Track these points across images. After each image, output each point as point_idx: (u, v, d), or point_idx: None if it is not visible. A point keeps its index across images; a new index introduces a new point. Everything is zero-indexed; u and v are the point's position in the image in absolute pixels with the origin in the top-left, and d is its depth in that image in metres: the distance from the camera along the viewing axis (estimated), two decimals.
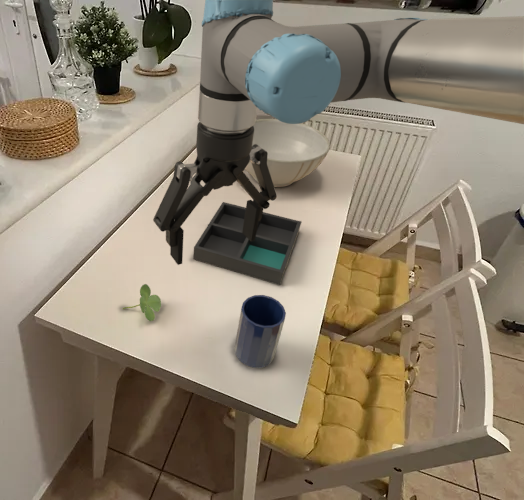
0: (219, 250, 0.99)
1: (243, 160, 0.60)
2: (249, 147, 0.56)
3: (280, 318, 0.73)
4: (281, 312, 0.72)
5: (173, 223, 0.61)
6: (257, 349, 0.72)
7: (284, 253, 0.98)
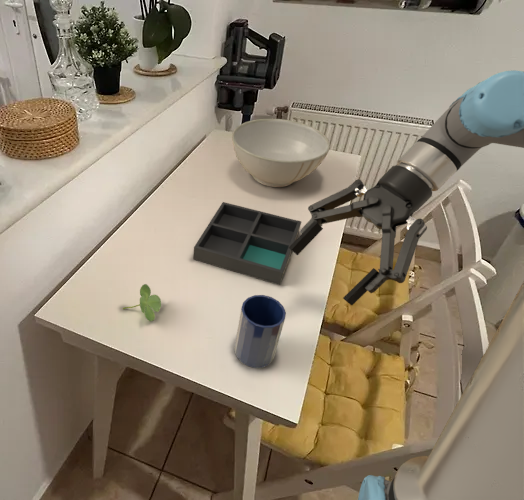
0: (219, 250, 0.99)
1: (400, 211, 0.67)
2: (407, 186, 0.65)
3: (280, 318, 0.73)
4: (281, 312, 0.72)
5: None
6: (257, 349, 0.72)
7: (284, 253, 0.98)
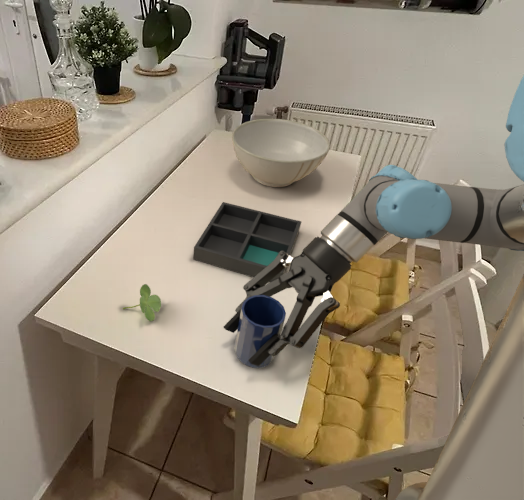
0: (219, 250, 0.99)
1: (321, 282, 0.68)
2: (325, 260, 0.67)
3: (280, 318, 0.73)
4: (281, 312, 0.72)
5: None
6: (257, 349, 0.72)
7: None
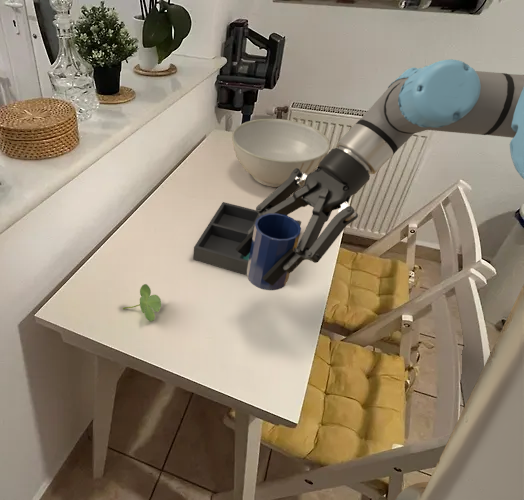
0: (219, 250, 0.99)
1: (338, 193, 0.66)
2: (343, 168, 0.64)
3: (295, 236, 0.70)
4: (296, 229, 0.69)
5: None
6: (271, 267, 0.70)
7: None
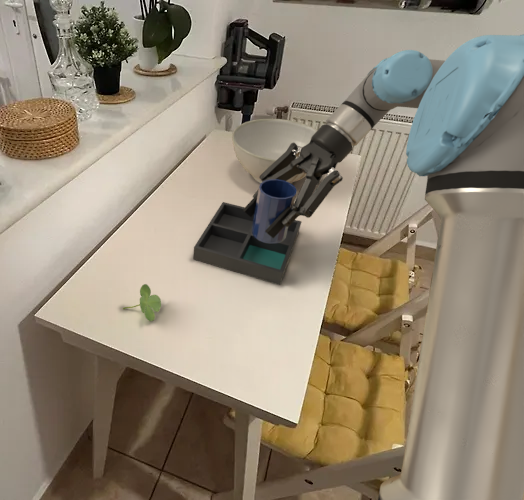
0: (219, 250, 0.99)
1: (326, 161, 0.81)
2: (330, 140, 0.80)
3: None
4: (293, 191, 0.85)
5: None
6: (272, 222, 0.85)
7: (284, 253, 0.98)
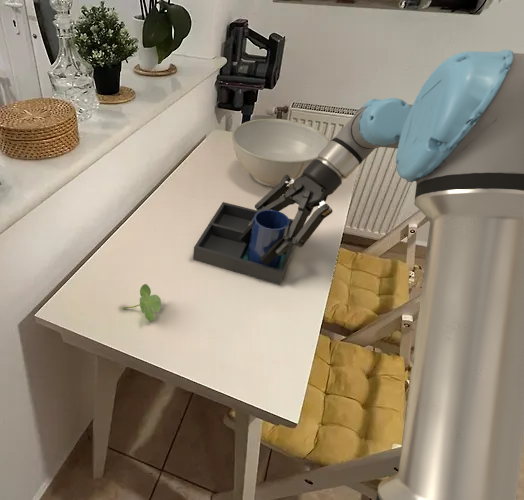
0: (219, 250, 0.99)
1: (317, 194, 0.86)
2: (321, 175, 0.85)
3: None
4: (286, 221, 0.90)
5: (261, 209, 0.94)
6: (266, 251, 0.90)
7: (284, 253, 0.98)
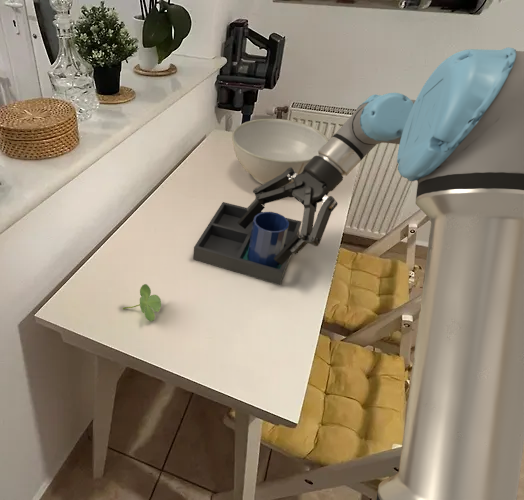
0: (219, 250, 0.99)
1: (318, 190, 0.86)
2: (322, 171, 0.84)
3: None
4: (285, 223, 0.90)
5: None
6: (266, 253, 0.90)
7: None
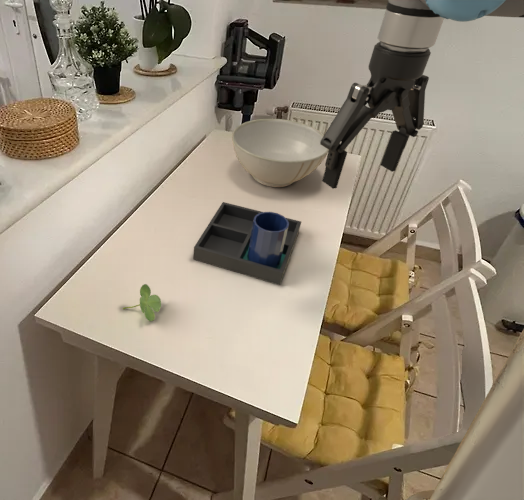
0: (219, 250, 0.99)
1: (409, 84, 0.65)
2: None
3: None
4: (285, 223, 0.90)
5: (340, 144, 0.66)
6: (266, 253, 0.90)
7: (284, 253, 0.98)
